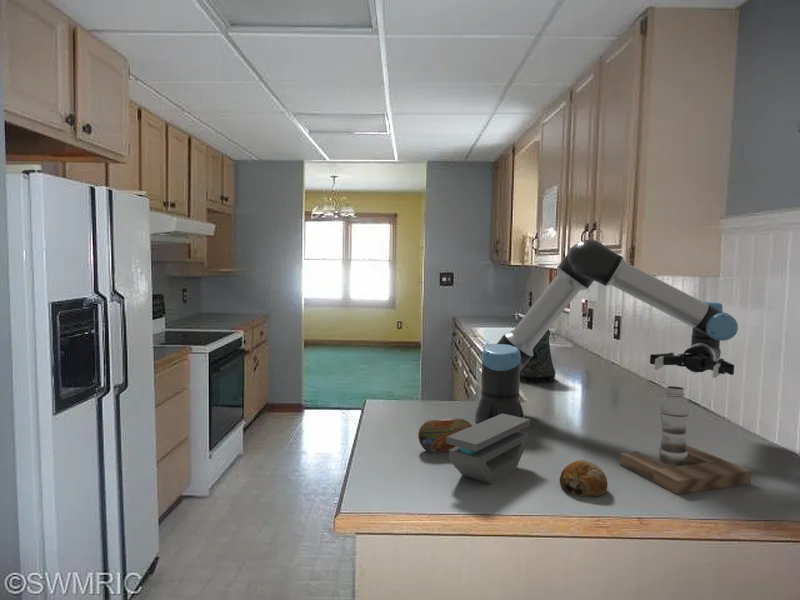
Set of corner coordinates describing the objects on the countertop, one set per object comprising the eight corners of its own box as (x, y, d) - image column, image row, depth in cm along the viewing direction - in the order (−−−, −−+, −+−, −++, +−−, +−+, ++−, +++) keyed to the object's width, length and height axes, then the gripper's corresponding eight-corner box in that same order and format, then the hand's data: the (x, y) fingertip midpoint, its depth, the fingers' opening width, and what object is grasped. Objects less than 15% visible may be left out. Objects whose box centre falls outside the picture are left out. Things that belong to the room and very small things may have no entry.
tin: (419, 454, 143) (420, 422, 143) (416, 449, 146) (417, 418, 146) (475, 450, 146) (475, 419, 146) (471, 446, 149) (471, 416, 149)
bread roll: (609, 512, 119) (624, 478, 120) (572, 497, 116) (588, 462, 117) (581, 493, 129) (595, 462, 129) (547, 479, 126) (561, 447, 126)
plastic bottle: (689, 475, 131) (693, 392, 130) (658, 471, 133) (661, 389, 132) (685, 465, 137) (689, 386, 136) (655, 462, 139) (658, 384, 138)
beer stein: (559, 383, 227) (561, 323, 225) (512, 383, 227) (514, 322, 225) (549, 375, 243) (551, 318, 242) (505, 374, 244) (506, 318, 242)
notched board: (677, 494, 120) (678, 481, 120) (620, 465, 137) (620, 453, 137) (750, 483, 127) (751, 470, 126) (687, 456, 144) (687, 445, 143)
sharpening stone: (501, 454, 144) (502, 413, 143) (528, 462, 139) (530, 419, 138) (445, 484, 124) (446, 436, 124) (475, 493, 119) (476, 444, 119)
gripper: (748, 377, 152) (740, 391, 135) (651, 364, 167) (632, 375, 150) (751, 350, 152) (742, 360, 135) (653, 339, 167) (634, 347, 150)
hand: (684, 368), depth 142 cm, fingers open, 13 cm apart
